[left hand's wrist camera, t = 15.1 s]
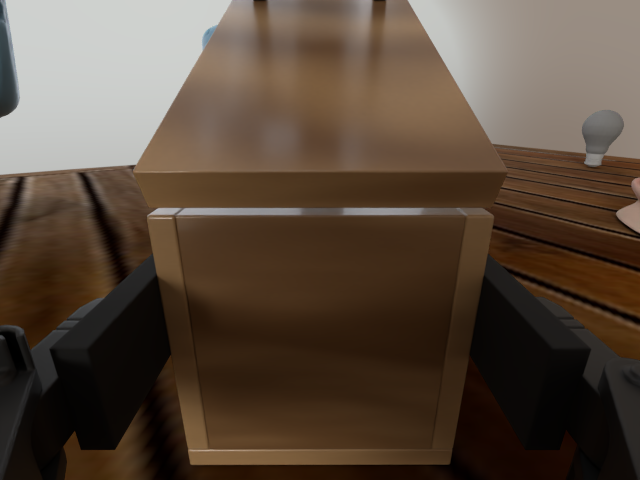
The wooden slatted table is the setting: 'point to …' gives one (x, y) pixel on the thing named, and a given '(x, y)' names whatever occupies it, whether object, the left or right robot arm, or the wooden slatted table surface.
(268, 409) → the chest
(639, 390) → the left robot arm
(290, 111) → the lid
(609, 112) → the light bulb
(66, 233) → the wooden slatted table surface
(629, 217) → the anatomical model
